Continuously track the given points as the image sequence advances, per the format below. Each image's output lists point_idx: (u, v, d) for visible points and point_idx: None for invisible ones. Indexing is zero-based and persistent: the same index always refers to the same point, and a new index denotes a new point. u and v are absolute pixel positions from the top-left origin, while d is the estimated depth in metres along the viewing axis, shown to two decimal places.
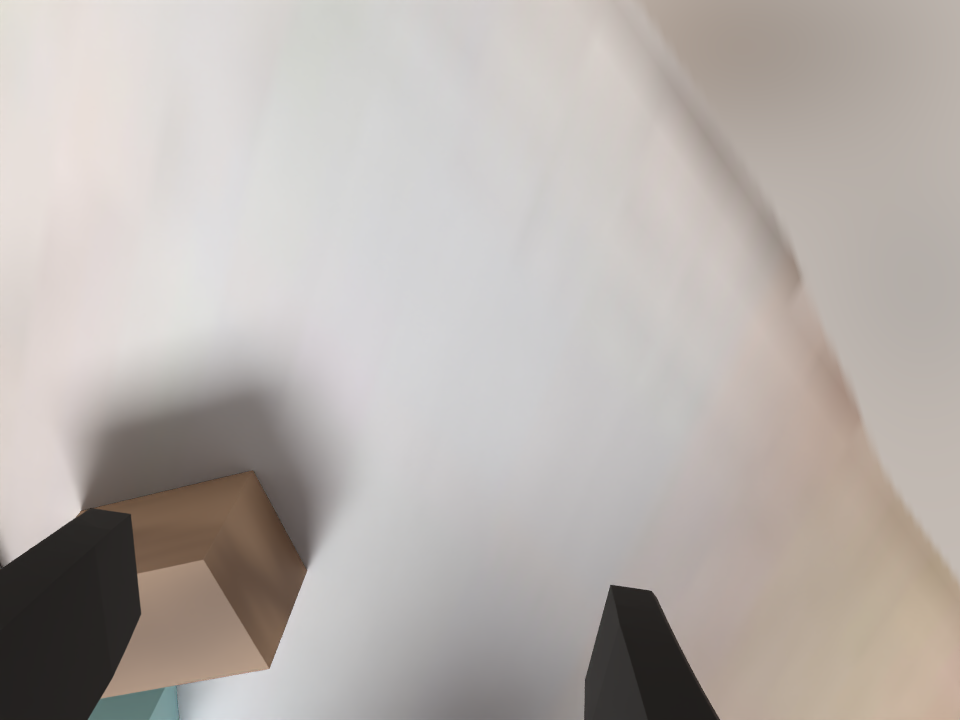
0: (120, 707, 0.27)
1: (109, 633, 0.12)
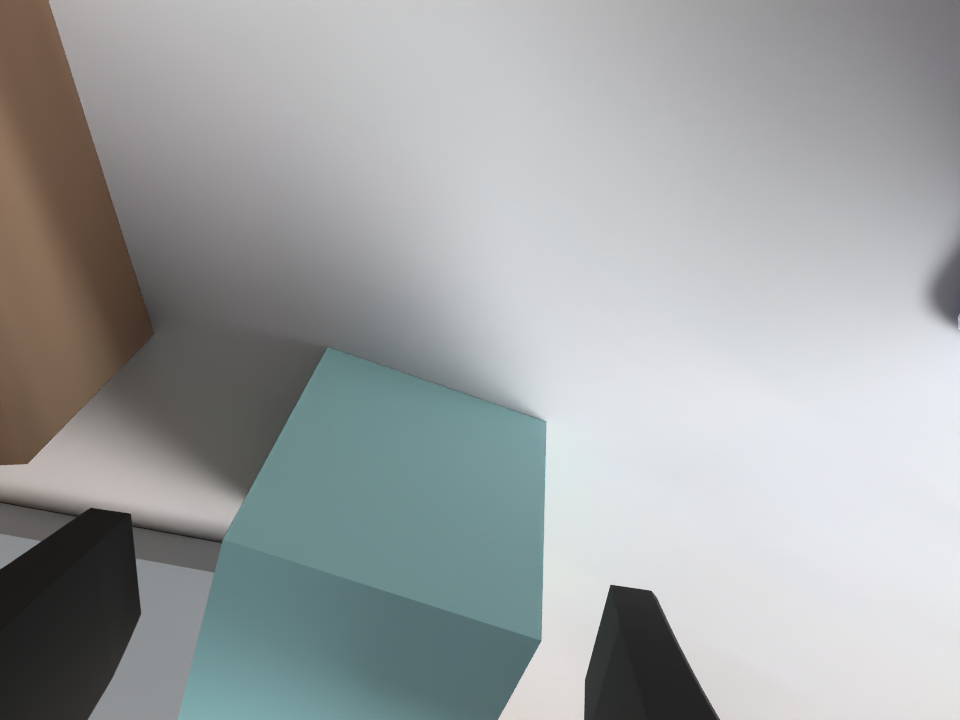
0: None
1: (109, 633, 0.12)
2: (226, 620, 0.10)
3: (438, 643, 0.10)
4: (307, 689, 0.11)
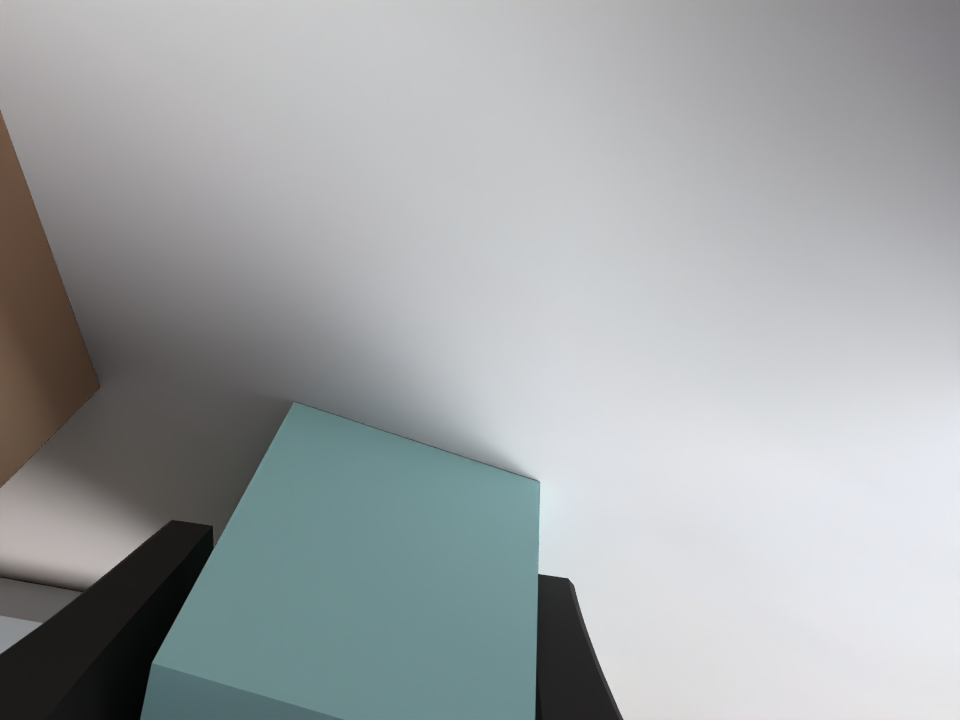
0: None
1: None
2: None
3: None
4: None
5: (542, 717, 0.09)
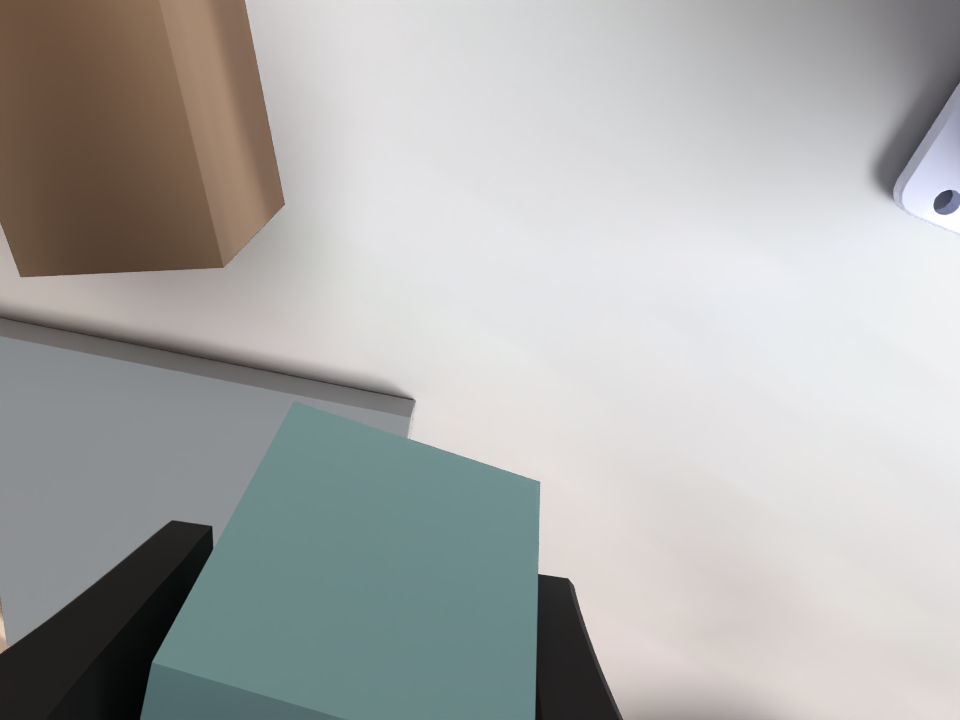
0: None
1: None
2: None
3: None
4: None
5: (541, 717, 0.09)
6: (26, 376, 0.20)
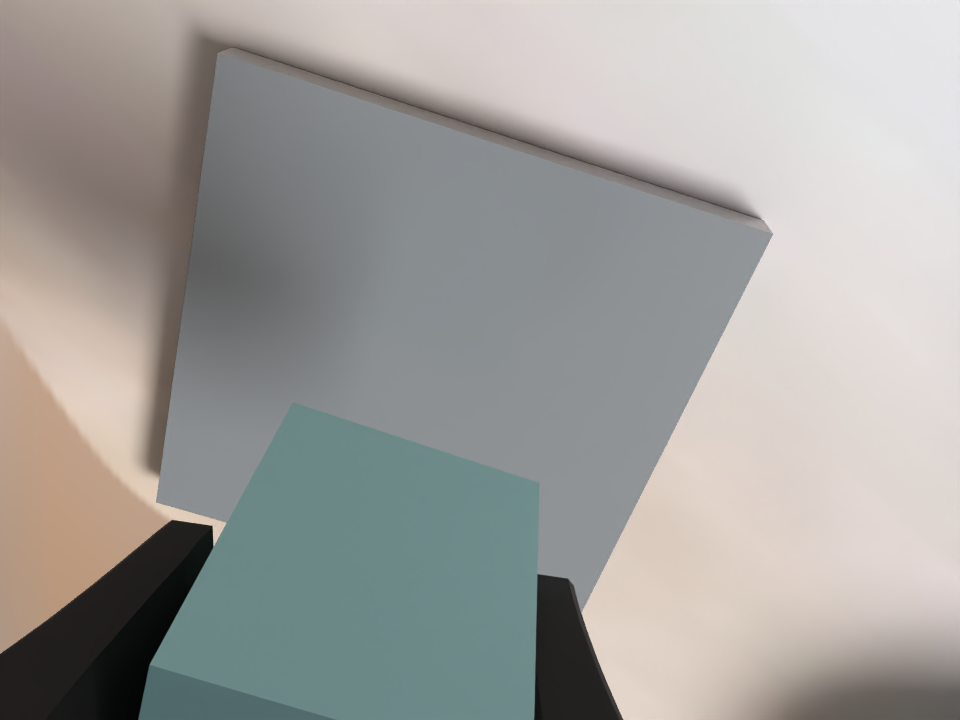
0: None
1: None
2: None
3: None
4: None
5: (541, 717, 0.09)
6: (285, 131, 0.16)
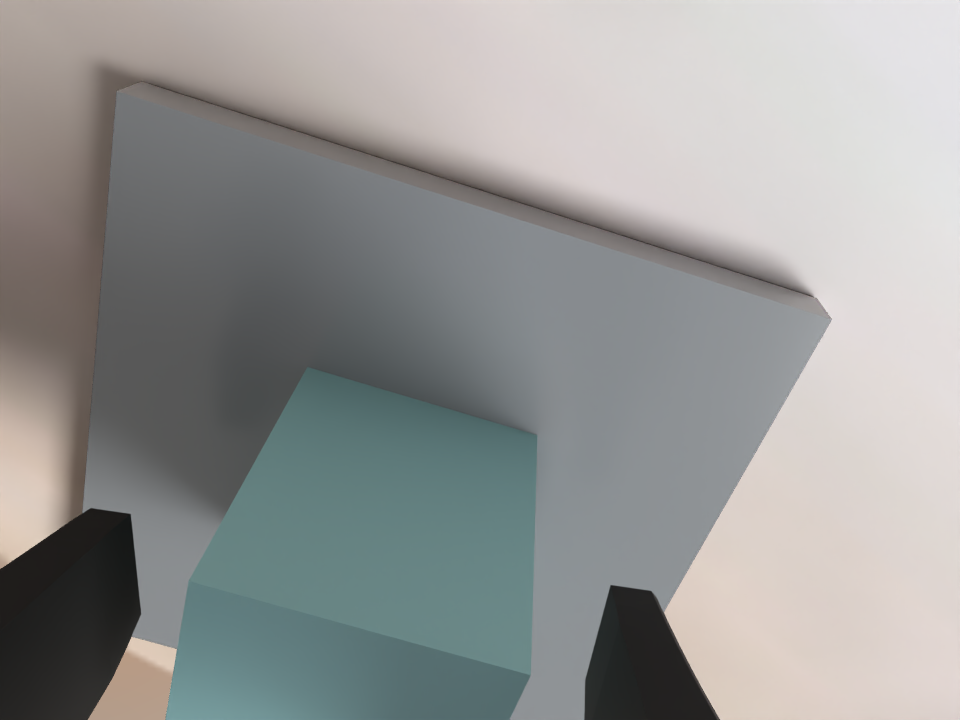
0: None
1: (109, 633, 0.12)
2: (199, 664, 0.10)
3: (422, 682, 0.10)
4: None
5: None
6: (208, 190, 0.12)
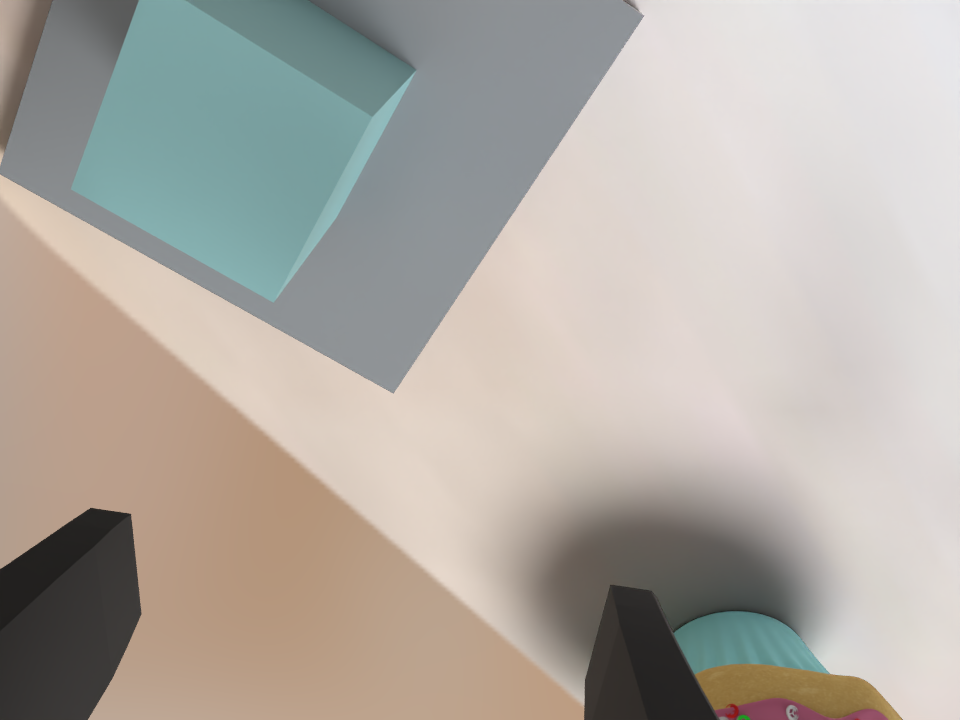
0: None
1: (109, 633, 0.12)
2: (137, 60, 0.13)
3: (295, 109, 0.13)
4: (189, 143, 0.14)
5: None
6: None
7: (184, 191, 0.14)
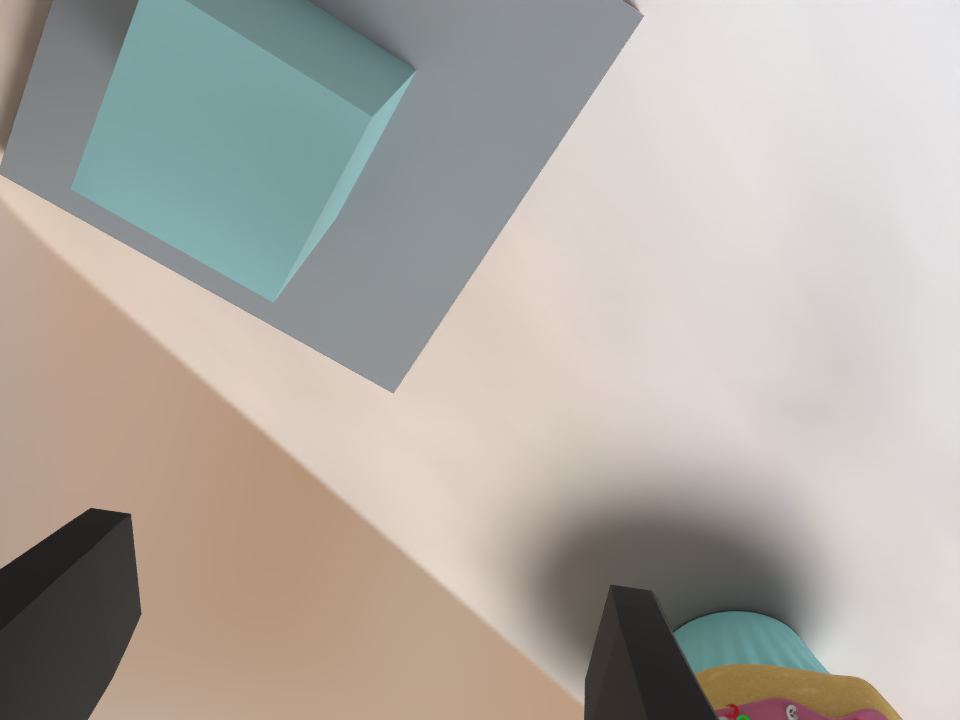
0: None
1: (109, 633, 0.12)
2: (137, 60, 0.13)
3: (295, 109, 0.13)
4: (189, 143, 0.14)
5: None
6: None
7: (184, 191, 0.14)
